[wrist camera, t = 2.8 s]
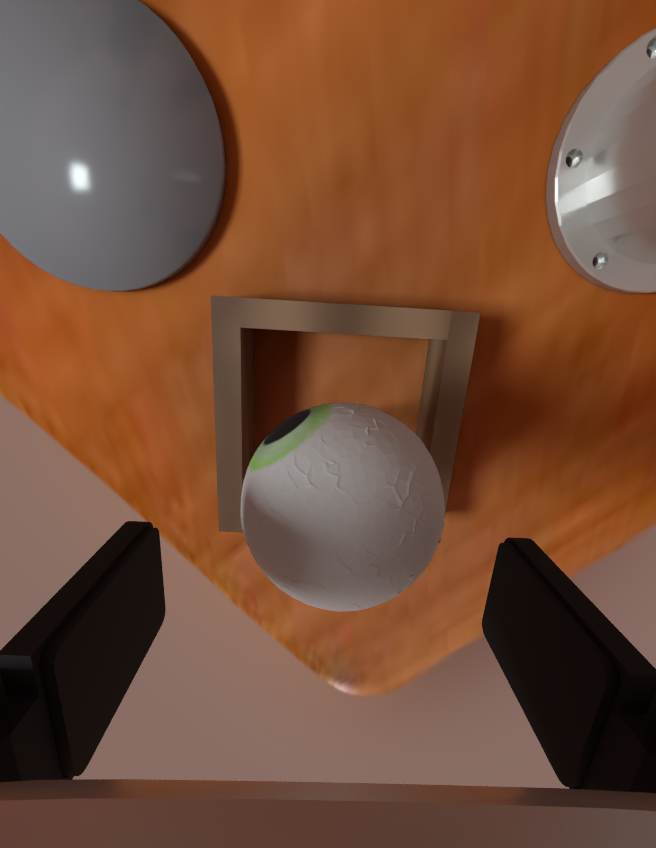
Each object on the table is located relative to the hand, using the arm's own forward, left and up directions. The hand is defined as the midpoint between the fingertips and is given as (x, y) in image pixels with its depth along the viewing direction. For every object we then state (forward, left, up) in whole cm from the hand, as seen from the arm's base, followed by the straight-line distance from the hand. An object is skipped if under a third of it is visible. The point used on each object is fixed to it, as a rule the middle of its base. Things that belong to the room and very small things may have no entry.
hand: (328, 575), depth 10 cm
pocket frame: (0, 0, -15) cm, 15 cm away
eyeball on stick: (0, 0, -15) cm, 15 cm away
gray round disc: (+14, -14, -15) cm, 25 cm away
